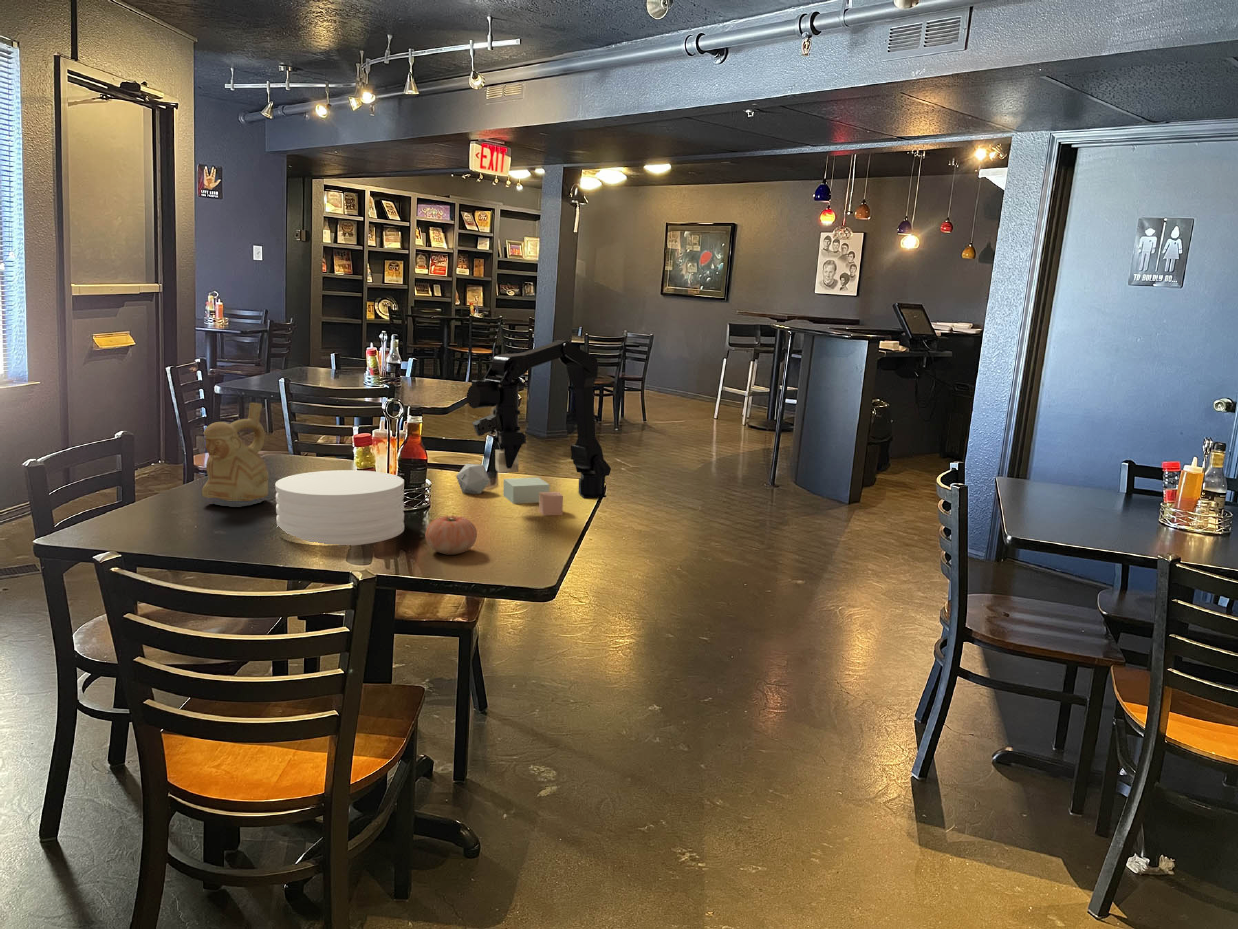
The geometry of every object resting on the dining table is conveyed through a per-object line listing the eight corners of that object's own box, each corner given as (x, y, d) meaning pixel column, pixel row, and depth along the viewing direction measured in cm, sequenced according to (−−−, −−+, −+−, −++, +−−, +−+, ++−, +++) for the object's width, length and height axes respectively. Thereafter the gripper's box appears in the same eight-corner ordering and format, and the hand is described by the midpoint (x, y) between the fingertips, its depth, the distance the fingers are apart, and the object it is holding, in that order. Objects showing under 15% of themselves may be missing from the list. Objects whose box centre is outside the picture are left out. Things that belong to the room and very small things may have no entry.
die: (455, 491, 258) (448, 468, 251) (479, 474, 262) (472, 451, 255) (473, 506, 254) (466, 483, 247) (497, 488, 257) (490, 465, 250)
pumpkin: (421, 547, 199) (421, 511, 197) (470, 544, 203) (471, 509, 201) (430, 561, 189) (430, 523, 187) (481, 557, 193) (482, 520, 191)
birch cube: (514, 468, 236) (514, 448, 235) (518, 471, 232) (518, 452, 231) (495, 468, 235) (495, 449, 234) (498, 472, 230) (498, 453, 229)
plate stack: (429, 529, 214) (429, 481, 212) (331, 554, 192) (330, 501, 189) (350, 510, 230) (349, 465, 228) (250, 531, 207) (248, 482, 205)
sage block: (538, 494, 256) (538, 477, 255) (549, 502, 247) (549, 484, 246) (503, 496, 252) (503, 478, 251) (513, 504, 243) (513, 486, 242)
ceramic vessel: (183, 507, 226) (178, 406, 222) (239, 492, 244) (235, 399, 240) (240, 514, 221) (236, 411, 216) (293, 499, 239) (290, 403, 235)
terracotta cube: (557, 510, 237) (558, 491, 236) (562, 515, 233) (562, 495, 232) (538, 511, 236) (539, 492, 235) (543, 515, 231) (543, 496, 230)
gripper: (469, 401, 236) (469, 460, 239) (480, 411, 219) (481, 475, 222) (511, 400, 240) (512, 459, 243) (526, 410, 222) (526, 473, 225)
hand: (507, 466), depth 233 cm, fingers closed on birch cube, 5 cm apart
